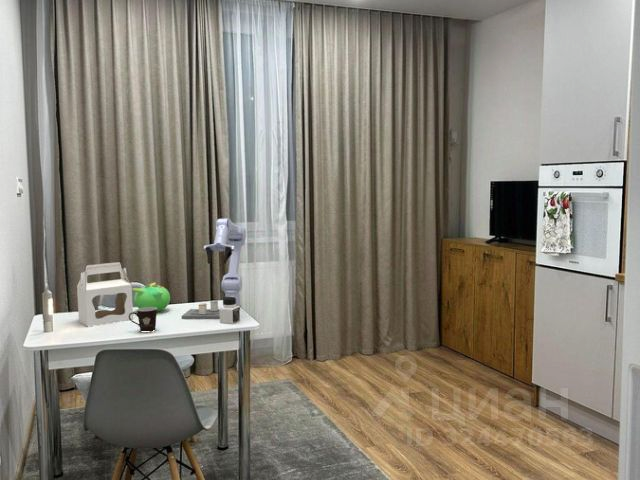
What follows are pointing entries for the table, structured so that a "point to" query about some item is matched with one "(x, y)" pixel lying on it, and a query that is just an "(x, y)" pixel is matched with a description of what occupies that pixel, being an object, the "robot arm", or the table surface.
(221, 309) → the medicine bottle
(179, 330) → the table surface
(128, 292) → the gable box
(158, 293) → the green teapot
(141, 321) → the coffee mug
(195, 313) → the plate
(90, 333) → the table surface
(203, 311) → the breaker
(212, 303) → the breaker
